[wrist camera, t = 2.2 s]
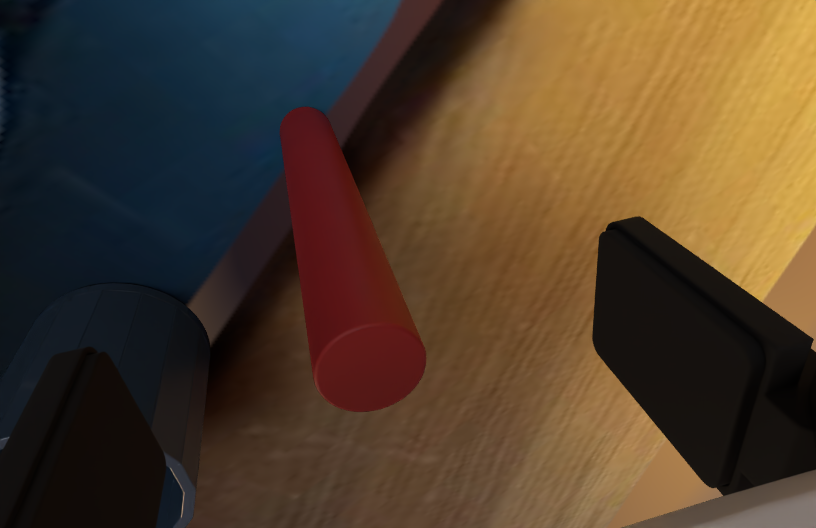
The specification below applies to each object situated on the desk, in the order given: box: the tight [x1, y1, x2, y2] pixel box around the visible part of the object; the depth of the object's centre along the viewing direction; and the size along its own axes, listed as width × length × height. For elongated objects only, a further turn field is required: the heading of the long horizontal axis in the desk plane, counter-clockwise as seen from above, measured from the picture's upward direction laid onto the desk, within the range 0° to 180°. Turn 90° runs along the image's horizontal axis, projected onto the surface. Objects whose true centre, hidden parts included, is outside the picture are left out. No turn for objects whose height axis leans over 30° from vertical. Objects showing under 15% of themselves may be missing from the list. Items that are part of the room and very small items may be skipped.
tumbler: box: [0, 283, 211, 528], centre depth 21 cm, size 7×7×8 cm
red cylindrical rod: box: [280, 107, 426, 412], centre depth 15 cm, size 2×2×14 cm
